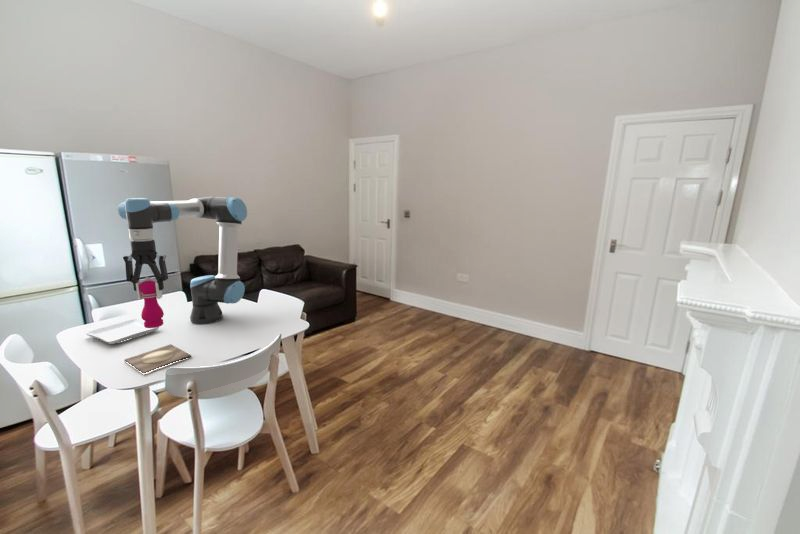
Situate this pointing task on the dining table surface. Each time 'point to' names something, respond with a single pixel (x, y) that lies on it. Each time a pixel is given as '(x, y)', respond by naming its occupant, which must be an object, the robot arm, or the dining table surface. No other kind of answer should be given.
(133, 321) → the salad plate
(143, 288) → the pepper mill
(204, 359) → the dining table surface
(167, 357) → the walnut stand
